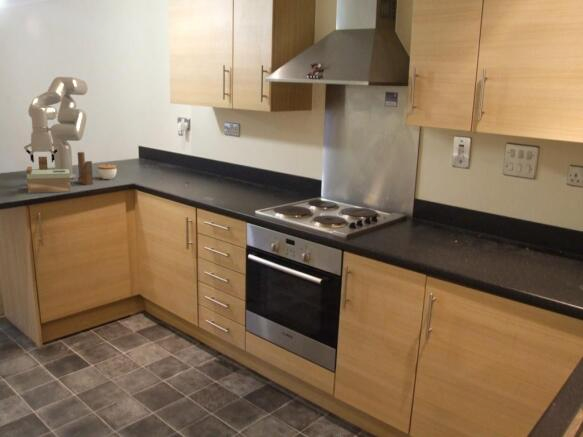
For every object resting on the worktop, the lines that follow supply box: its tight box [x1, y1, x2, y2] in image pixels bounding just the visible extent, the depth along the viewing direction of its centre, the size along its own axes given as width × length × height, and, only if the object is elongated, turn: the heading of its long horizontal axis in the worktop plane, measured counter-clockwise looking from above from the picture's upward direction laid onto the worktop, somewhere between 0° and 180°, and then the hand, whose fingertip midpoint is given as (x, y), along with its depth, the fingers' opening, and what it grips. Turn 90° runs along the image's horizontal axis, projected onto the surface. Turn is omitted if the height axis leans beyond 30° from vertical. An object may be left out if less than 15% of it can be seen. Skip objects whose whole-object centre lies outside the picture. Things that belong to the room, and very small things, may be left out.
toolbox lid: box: [25, 166, 70, 180], centre depth 277 cm, size 12×20×4 cm, turn 113°
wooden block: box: [77, 151, 94, 186], centre depth 297 cm, size 4×11×18 cm, turn 48°
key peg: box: [38, 156, 49, 170], centre depth 289 cm, size 4×4×16 cm
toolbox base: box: [26, 178, 71, 194], centre depth 279 cm, size 12×20×8 cm, turn 113°
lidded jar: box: [97, 162, 118, 180], centre depth 317 cm, size 11×11×9 cm
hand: (42, 161), depth 288 cm, fingers open, 9 cm apart
